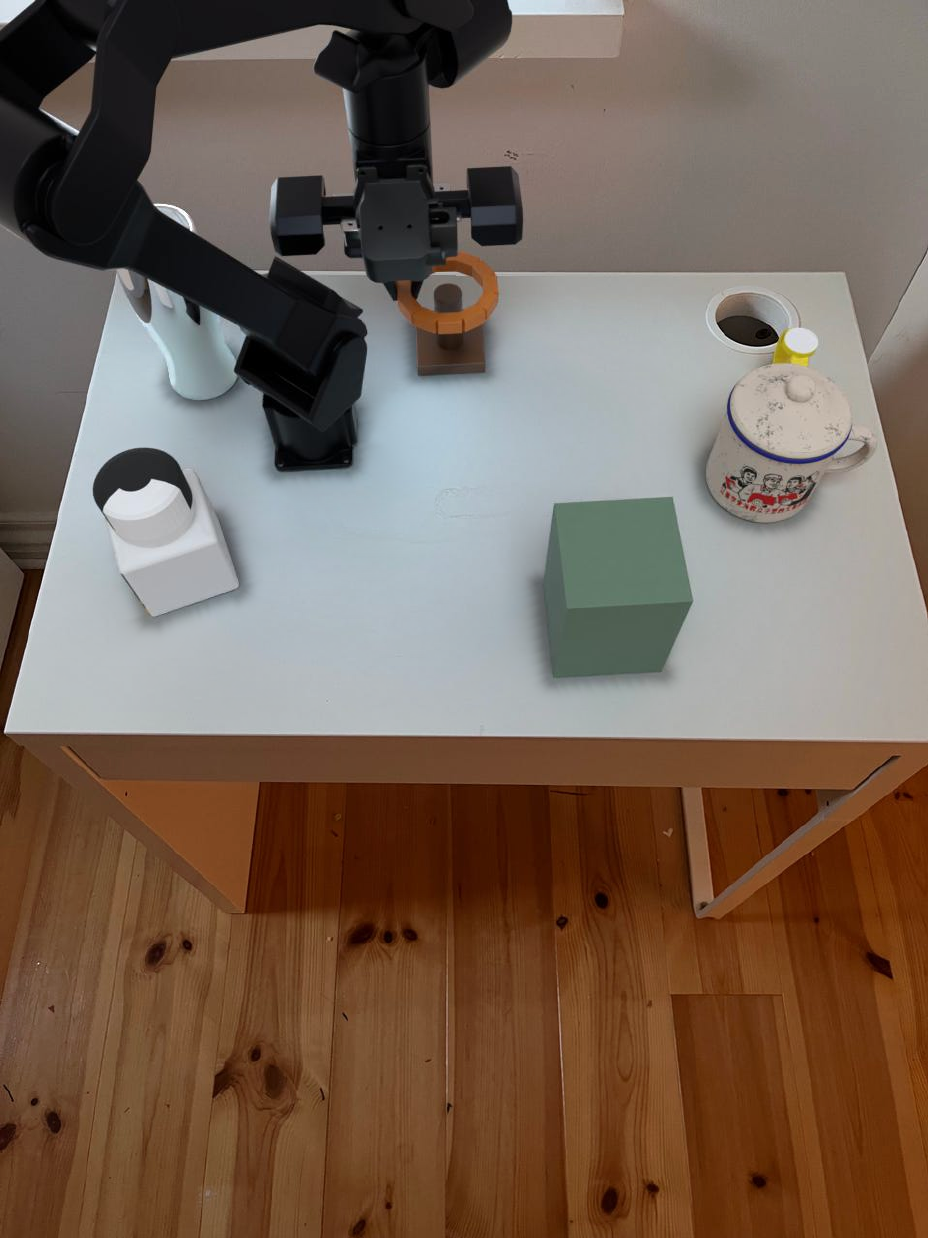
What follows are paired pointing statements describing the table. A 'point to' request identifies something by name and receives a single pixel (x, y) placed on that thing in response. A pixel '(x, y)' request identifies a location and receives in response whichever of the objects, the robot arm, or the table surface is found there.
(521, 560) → the table surface
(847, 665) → the table surface
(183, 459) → the table surface
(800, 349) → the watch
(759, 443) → the teacup with lid
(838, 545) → the table surface
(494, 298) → the ring
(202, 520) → the medicine bottle
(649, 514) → the block
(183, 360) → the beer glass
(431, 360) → the stand
